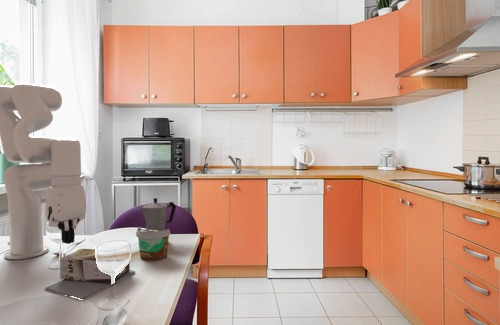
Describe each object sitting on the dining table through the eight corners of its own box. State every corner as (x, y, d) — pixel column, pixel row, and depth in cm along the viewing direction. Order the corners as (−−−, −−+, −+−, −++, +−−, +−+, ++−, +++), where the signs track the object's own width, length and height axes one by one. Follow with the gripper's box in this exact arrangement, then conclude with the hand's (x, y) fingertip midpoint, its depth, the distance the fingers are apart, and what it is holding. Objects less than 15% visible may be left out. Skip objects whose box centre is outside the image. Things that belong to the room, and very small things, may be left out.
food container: (128, 260, 104) (127, 231, 103) (139, 254, 110) (138, 226, 109) (161, 264, 101) (161, 233, 100) (170, 257, 107) (170, 228, 106)
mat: (45, 289, 83) (45, 287, 83) (101, 265, 99) (101, 263, 99) (81, 300, 77) (81, 298, 77) (135, 273, 94) (134, 271, 94)
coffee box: (59, 280, 87) (112, 284, 85) (59, 257, 87) (111, 261, 84) (82, 268, 96) (130, 271, 94) (81, 247, 96) (130, 250, 93)
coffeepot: (144, 250, 113) (144, 201, 112) (134, 244, 120) (133, 198, 119) (181, 241, 124) (181, 197, 123) (170, 236, 131) (169, 194, 130)
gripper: (80, 177, 99) (82, 234, 100) (31, 183, 85) (34, 248, 86) (97, 179, 96) (98, 237, 97) (49, 185, 82) (51, 252, 83)
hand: (68, 242), depth 92 cm, fingers closed
